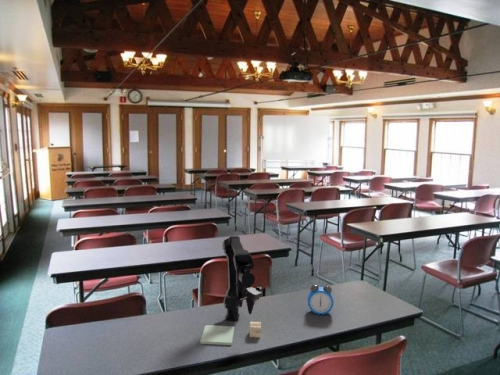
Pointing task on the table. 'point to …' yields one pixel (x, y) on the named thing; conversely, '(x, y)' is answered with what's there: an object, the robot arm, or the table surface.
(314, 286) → the alarm clock
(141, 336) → the table surface
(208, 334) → the green pad
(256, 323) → the birch cube
